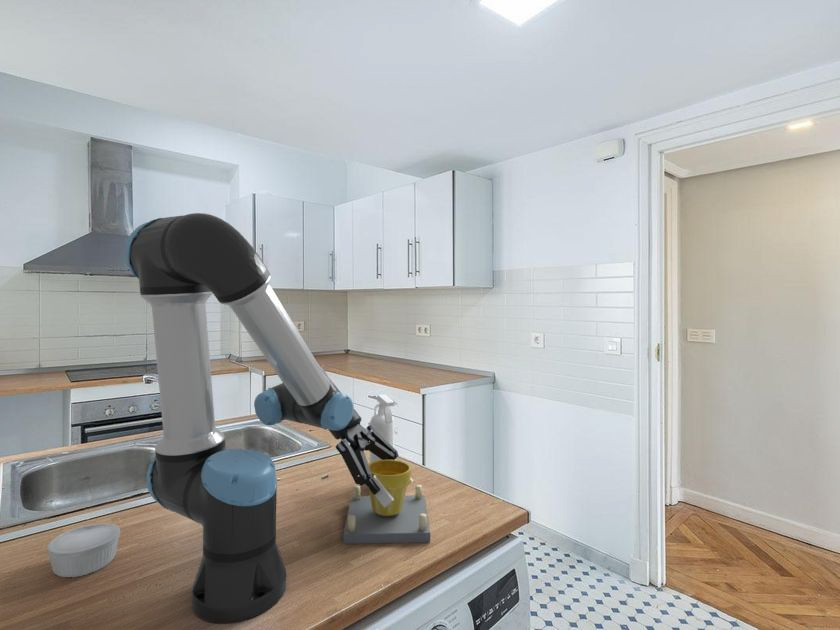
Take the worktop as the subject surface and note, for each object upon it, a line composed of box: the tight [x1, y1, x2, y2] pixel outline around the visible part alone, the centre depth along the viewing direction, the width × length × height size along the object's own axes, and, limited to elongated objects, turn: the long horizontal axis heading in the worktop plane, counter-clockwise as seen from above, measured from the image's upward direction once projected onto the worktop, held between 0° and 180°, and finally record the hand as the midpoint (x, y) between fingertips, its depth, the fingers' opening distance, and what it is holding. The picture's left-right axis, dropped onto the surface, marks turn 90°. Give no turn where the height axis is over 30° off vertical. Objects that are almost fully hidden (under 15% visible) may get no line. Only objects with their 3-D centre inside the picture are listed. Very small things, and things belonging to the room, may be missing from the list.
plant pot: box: [368, 459, 412, 516], centre depth 104 cm, size 10×10×10 cm
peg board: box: [343, 484, 431, 545], centre depth 104 cm, size 18×18×5 cm
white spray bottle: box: [369, 393, 396, 463], centre depth 123 cm, size 7×12×25 cm, turn 25°
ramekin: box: [46, 523, 121, 578], centre depth 87 cm, size 11×11×5 cm
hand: (399, 493), depth 103 cm, fingers closed on plant pot, 10 cm apart
